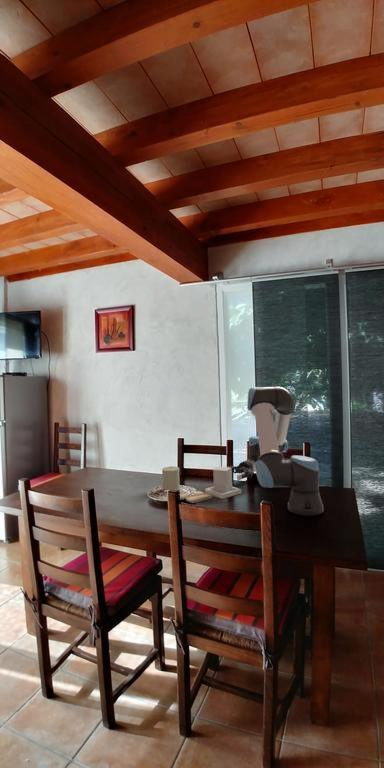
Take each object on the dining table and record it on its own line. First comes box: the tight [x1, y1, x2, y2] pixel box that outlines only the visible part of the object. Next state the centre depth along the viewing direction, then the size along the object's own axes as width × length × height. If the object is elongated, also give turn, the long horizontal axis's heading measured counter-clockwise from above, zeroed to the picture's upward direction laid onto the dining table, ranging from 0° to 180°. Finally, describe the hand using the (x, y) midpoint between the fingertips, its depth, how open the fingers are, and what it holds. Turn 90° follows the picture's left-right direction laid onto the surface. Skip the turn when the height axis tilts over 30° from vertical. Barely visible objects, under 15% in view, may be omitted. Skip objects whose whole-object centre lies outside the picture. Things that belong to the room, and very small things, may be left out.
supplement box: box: [212, 466, 233, 493], centre depth 201 cm, size 7×7×13 cm
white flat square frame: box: [204, 485, 242, 500], centre depth 202 cm, size 13×13×2 cm
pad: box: [179, 489, 213, 504], centre depth 196 cm, size 12×12×1 cm
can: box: [161, 466, 181, 493], centre depth 209 cm, size 9×9×12 cm
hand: (226, 476), depth 205 cm, fingers open, 13 cm apart
